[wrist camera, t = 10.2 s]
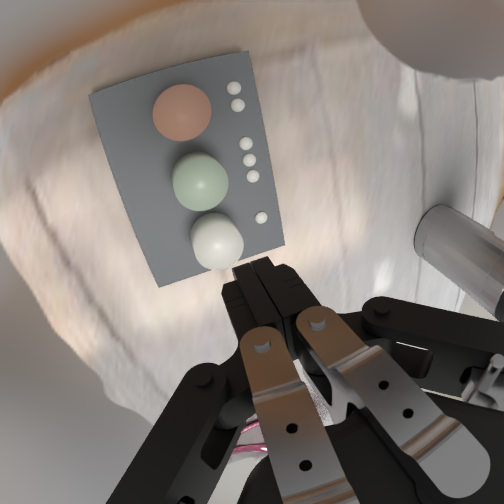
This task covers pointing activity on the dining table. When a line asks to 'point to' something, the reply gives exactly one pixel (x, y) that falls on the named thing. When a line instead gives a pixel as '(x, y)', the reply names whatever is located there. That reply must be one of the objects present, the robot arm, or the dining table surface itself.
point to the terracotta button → (182, 112)
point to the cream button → (216, 241)
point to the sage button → (199, 181)
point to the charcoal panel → (169, 152)
